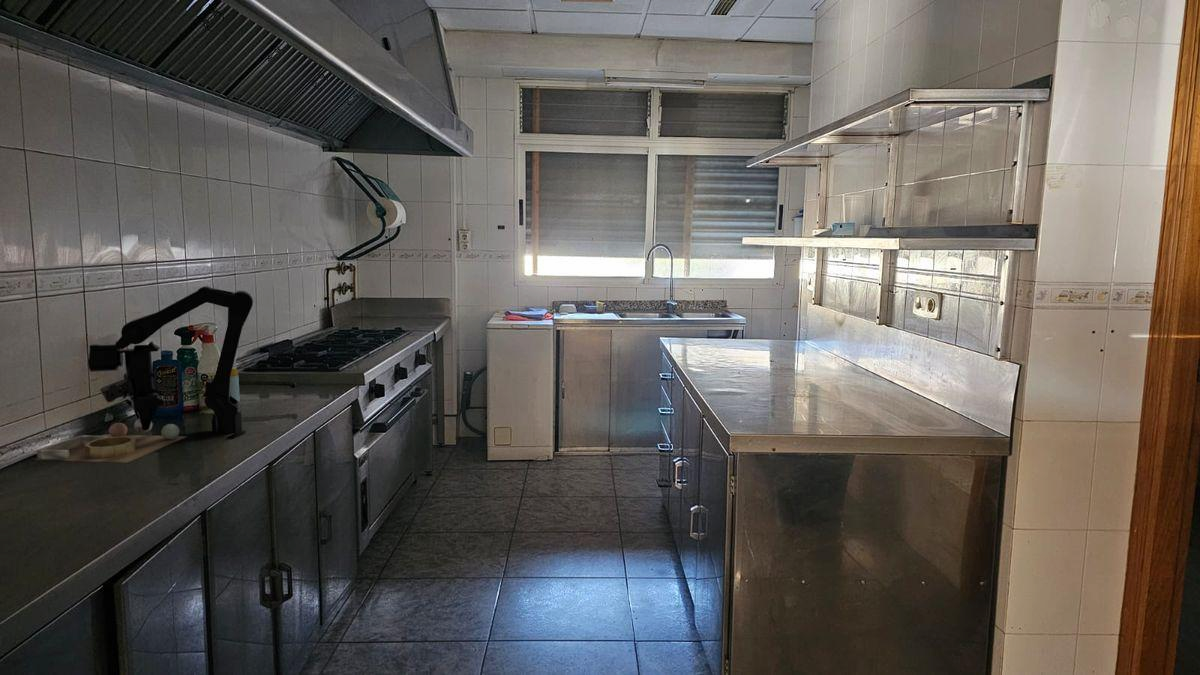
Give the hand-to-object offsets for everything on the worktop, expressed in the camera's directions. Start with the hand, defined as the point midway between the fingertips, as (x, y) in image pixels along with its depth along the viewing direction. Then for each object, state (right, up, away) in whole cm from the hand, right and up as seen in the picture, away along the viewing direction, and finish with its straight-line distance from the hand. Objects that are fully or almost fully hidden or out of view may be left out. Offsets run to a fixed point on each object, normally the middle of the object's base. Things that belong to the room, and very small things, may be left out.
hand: (143, 428), depth 189 cm
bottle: (0, +2, +43) cm, 43 cm away
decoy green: (+7, -1, 0) cm, 7 cm away
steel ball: (0, +1, 0) cm, 1 cm away
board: (-2, -5, -7) cm, 9 cm away
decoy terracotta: (-7, -1, +1) cm, 7 cm away
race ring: (-1, -4, -11) cm, 12 cm away
